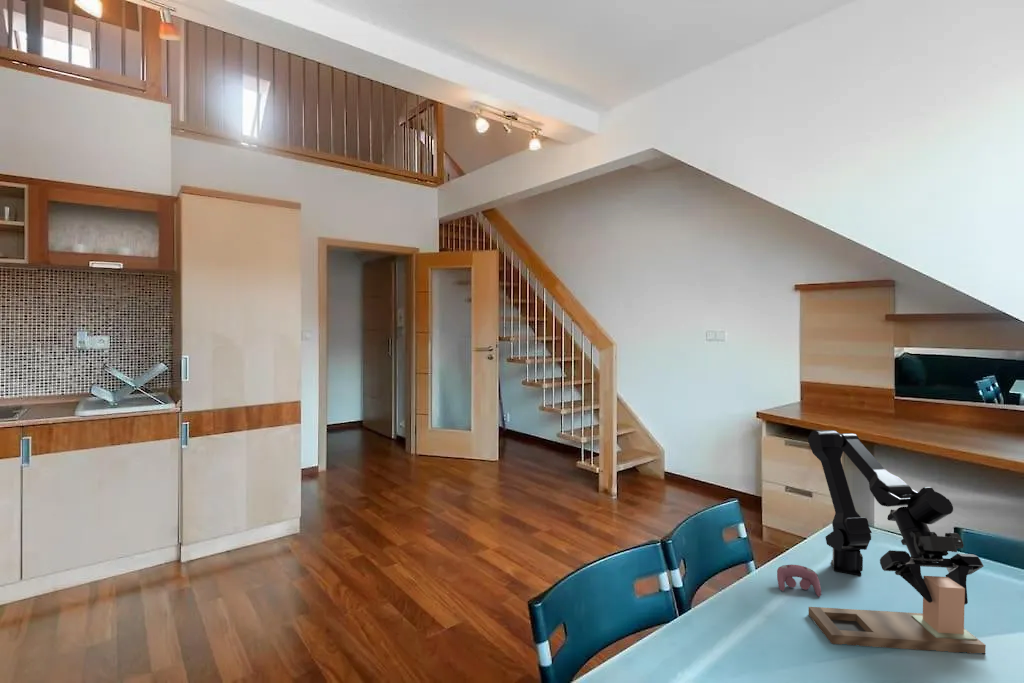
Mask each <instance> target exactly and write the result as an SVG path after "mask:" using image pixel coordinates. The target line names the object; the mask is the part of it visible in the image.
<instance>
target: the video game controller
mask: <svg viewBox="0 0 1024 683" xmlns="http://www.w3.org/2000/svg"><path fill="white" fill-rule="evenodd" d="M776 574H777V575H776V576H777V577H776V580H777V585H778V589H779V590H780V591H781V590H782V591H783V592H784V591H785V588H786V585H788V586H789V587H788V586H787V587H788V588H791V587H792V589H793V588H796V586H797V582H796V580H795V579H794V578H800V580H799V587H800V588H801V589H803V590H805V591H806V590H808V589H810V587H811V586H812V587H813V590H814V592H815V594H816V596H817V597H818V598H820V597H821V595H822V587H821V583H820V579H819V577H818V574H817V573H816V571H814V570H813V569H812V568H809V567H806V566H804V565H801V564H800V565H799V564H784V565H781V566H779V567H778V568H777V570H776ZM782 591H781V592H782Z"/></svg>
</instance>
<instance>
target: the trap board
mask: <svg viewBox="0 0 1024 683" xmlns="http://www.w3.org/2000/svg"><path fill="white" fill-rule="evenodd" d="M808 616H809V617H810V619H811V620H812V621H813V622H814V623H815V625H816V626H817V628H818V629H819V630H820V631H821V632H822V634H824V636H825V637H826V639H827V640H828V641H829V642H830V644H832V645H842V644H847V645H846V646H856V645H859V646H861V647H871V646H872V647H873V648H888V649H889V648H890V649H900V650H901V649H902V650H903V649H905V650H918V651H930V650H936V651H935V652H944V651H948V652H947V653H959V652H967V653H966V654H974V653H985V654H986V644H985V643H983V642H982V640H980V639H978V638H977V636H975V635H974V634H972V632H970V631H969V630H967V629H966V628H965V627H964V634H954V633H938V632H937V631H936V630H935V629H934V628H932V627H931V626H930V625H929V624H928V623H927V622H925V621H924V620H923V612H922V613H921V612H906V611H905V612H903V611H901V612H900V611H885V610H870V609H857V608H856V609H854V608H853V609H852V608H839V607H837V608H836V607H821V606H808ZM859 646H858V647H859Z"/></svg>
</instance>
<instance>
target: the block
mask: <svg viewBox="0 0 1024 683" xmlns="http://www.w3.org/2000/svg"><path fill="white" fill-rule="evenodd" d="M923 579H924V582H925V584H926V586H927V588H928V590H929V592H930V595H931V598H932V602H931V603H929V602H927V600H926V599H925V598H924V597H923V596H922V613H923V620H924V621H925V622H927V623H928V624H929V625H930V626H931V627H932V628H934V629H935V630H936V631H937V632H938V633H954V634H964V628H965V588H963V587H962V586H960V585H959V584H958V583H956V582H955V581H953V580H952V579H950V578H949V577H946V576H938V575H935V576H934V575H923Z"/></svg>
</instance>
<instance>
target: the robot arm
mask: <svg viewBox="0 0 1024 683" xmlns="http://www.w3.org/2000/svg"><path fill="white" fill-rule="evenodd" d="M807 442H808V445H809V447H810V449H811V452H812V454H813V455H814V456H815V457H816V458H817V460H819V461H820V463H821V465H822V470H823V473H824V477H825V480H826V484H827V487H828V490H829V493H830V498H831V501H832V504H833V509H834V517H833V520H832V523H831V525H832V529H833V530H832V531H831V532H830V533H828V534H827V535H826V536H825V537H824V538H825V542H826V545H827V546H828V547H830V548H832V559H831V566H832V569H833V571H835V572H839V573H845V574H849V575H850V574H851V575H854V576H862V572H863V571H864V570H863V568H864V567H863V566H864V564H863V563H864V560H863V559H864V556H863V554H862V552H861V550H864V551H865V550H867V548H868V547H869V544H870V541H871V540H872V530H871V528H870V526H869V520H868V519H867V517H865V516H863V517H862V516H861V514H859V513H858V512H857V510H856V507H855V503H854V501H853V497H852V494H851V490H850V487H849V483H848V480H847V477H846V474H845V470H844V467H843V464H842V459H841V458H842V456H843V454H845V455H846V456H847V458H849V460H850V461H851V462H852V463H853V464H854V465H855V467H856V468H857V469H858V471H859V472H860V473H861V474H862V475H863V476H864V478H866V480H867V482H868V483H869V485H868V487H869V491H870V492H871V494H872V495H873V497H874V498H875V500H876V501H877V503H878V504H879V505H880V506H882V507H887V508H889V507H898V508H897V509H890V512H889V514H888V515H887V521H892V522H895V523H896V525H897V528H898V530H899V532H900V535H901V537H902V539H901V540H900V543H901V545H902V546H906V548H907V550H908V552H907V551H906V550H891V549H890V550H888V551H887V552H886V553H885V554H884V555H882V556H881V557H880V559H879V563H880V567H881V569H882V570H883V571H884V572H894V574H895V575H897V576H900V577H901V578H902V579H904V580H905V581H906V583H907V584H909V585H910V587H911V586H912V587H913V589H914V590H916V592H917V593H918V594H919V595H920V596H921V597H922V598H923V597H924V598H925V599H926V600H927V602H929V603H931V602H932V598H931V595H930V592H929V590H928V588H927V586H926V584H925V582H924V579H923V578H924V576H923V575H922V570H921V567H927V568H929V567H930V568H931V567H932V568H946V570H947V572H948V573H947V574H945V576H944V577H949V578H950V579H952V580H953V581H955V582H956V583H958V584H959V585H960V586H962V587H963V588H965V605H967V604H968V601H969V600H968V590H967V578H968V575H972V574H974V573H975V572H977V571H979V570H980V569H982V568H983V567H984V564H983V562H982V560H981V558H980V557H979V556H978V555H976V554H973V553H958V549H963V548H964V547H965V546H964V542H963V539H962V538H961V536H960V534H959V533H958V532H945V533H944V536H943V535H938V534H937V533H936V532H935V531H931V530H930V528H929V526H928V525H933V524H936V523H937V522H939V521H940V520H942V519H944V518H946V517H948V516H949V515H951V514H952V513H953V511H954V506H953V503H952V502H951V500H950V499H949V498H947V497H946V496H944V494H942V493H940V492H938V491H935V489H934V488H933V487H932V486H926V487H925V486H924V487H922V488H921V489H920V490H918V491H916V490H915V489H913V488H911V486H910V485H909V484H908V483H906V482H905V481H904V480H903V479H902V478H900V477H899V476H897V475H895V474H893V473H891V472H889V471H888V470H887V469H886V468H885V467H884V466H883V465H882V464H881V463H880V462H879V461H878V459H877V458H875V457H874V455H873V454H872V453H871V452H870V451H869V450H868V449H867V447H865V445H864V444H863V442H861V441H860V439H859V437H858V435H857V434H856V433H852V432H850V433H849V432H848V433H846V432H845V433H843V432H842V433H839V432H837V431H836V430H834V429H833V430H831V429H829V430H825V429H824V430H812V431H811V432H810V433H809V435H808V437H807ZM949 552H951V553H956V554H955V555H953V556H952V557H950V558H944V557H947V556H948V555H949Z"/></svg>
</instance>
